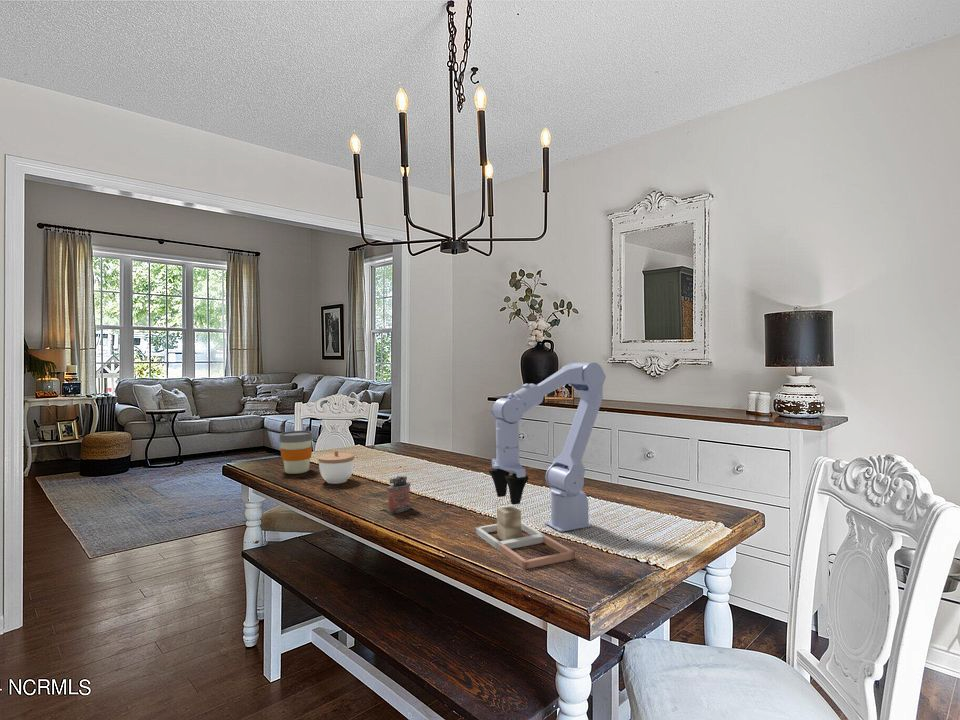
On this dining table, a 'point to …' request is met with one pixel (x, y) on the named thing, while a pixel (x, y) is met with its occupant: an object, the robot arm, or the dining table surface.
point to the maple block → (508, 523)
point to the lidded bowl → (336, 467)
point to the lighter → (398, 495)
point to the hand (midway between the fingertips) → (508, 500)
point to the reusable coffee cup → (296, 450)
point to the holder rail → (526, 541)
